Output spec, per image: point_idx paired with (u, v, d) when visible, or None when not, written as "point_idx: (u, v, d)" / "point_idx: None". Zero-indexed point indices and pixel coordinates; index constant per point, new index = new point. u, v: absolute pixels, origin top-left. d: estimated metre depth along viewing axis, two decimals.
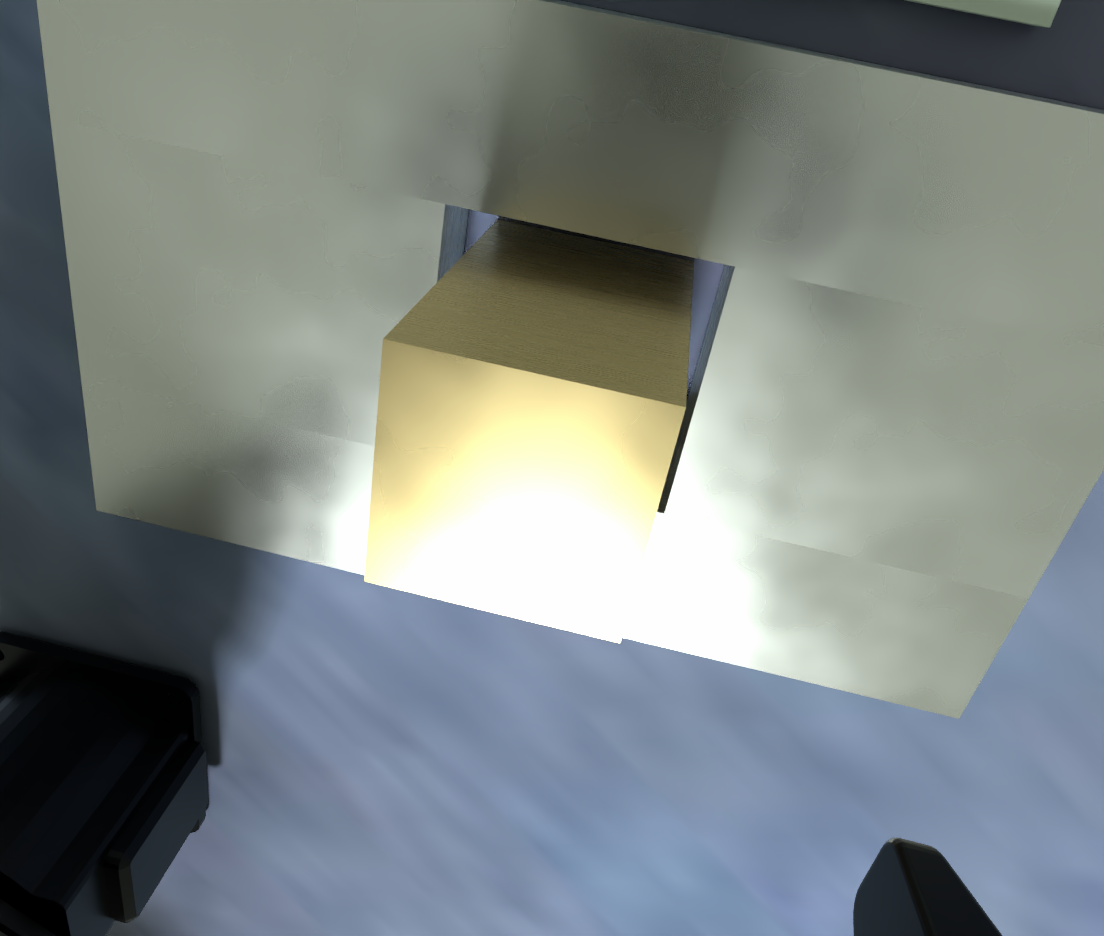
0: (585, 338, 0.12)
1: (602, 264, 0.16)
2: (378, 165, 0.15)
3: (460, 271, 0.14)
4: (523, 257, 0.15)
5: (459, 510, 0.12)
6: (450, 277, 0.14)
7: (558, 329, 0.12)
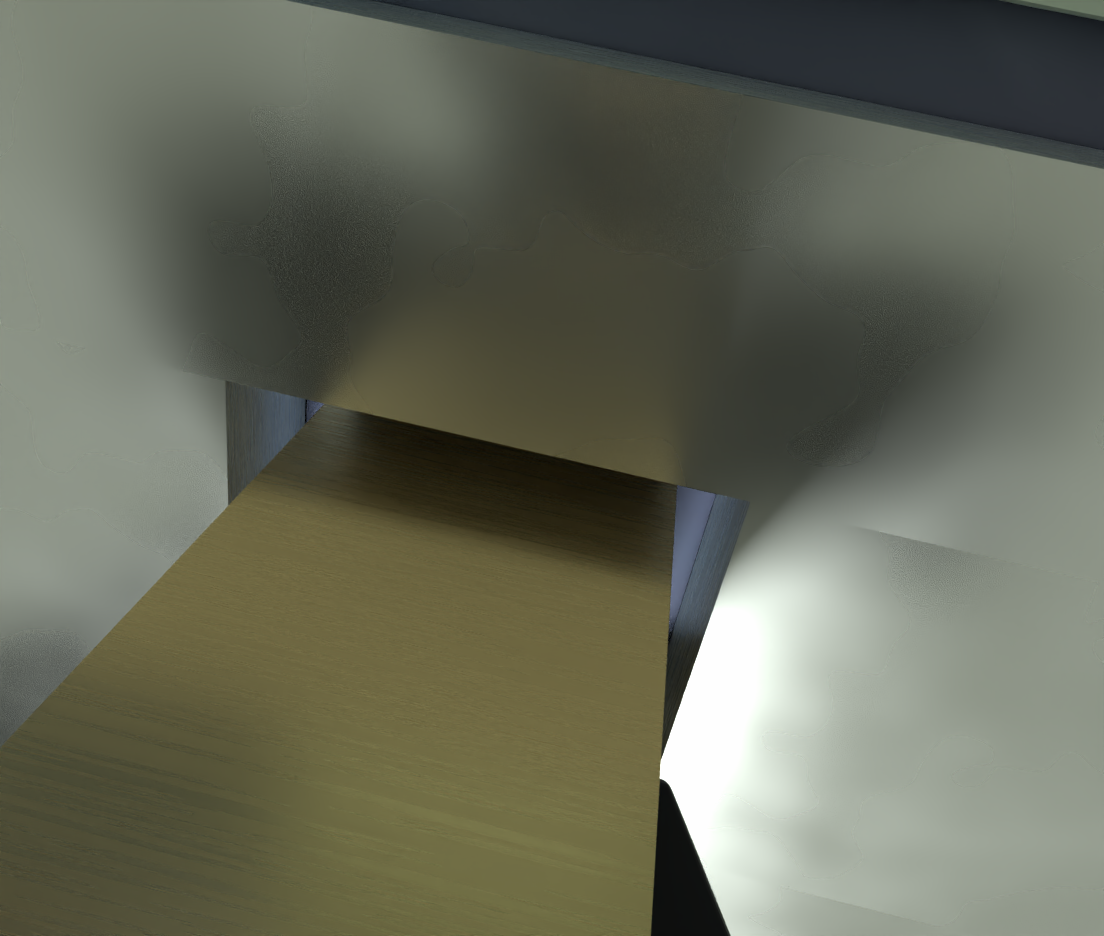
0: (426, 773, 0.06)
1: (516, 477, 0.09)
2: (99, 313, 0.08)
3: (218, 542, 0.07)
4: (371, 476, 0.08)
5: None
6: (188, 565, 0.07)
7: (373, 738, 0.06)
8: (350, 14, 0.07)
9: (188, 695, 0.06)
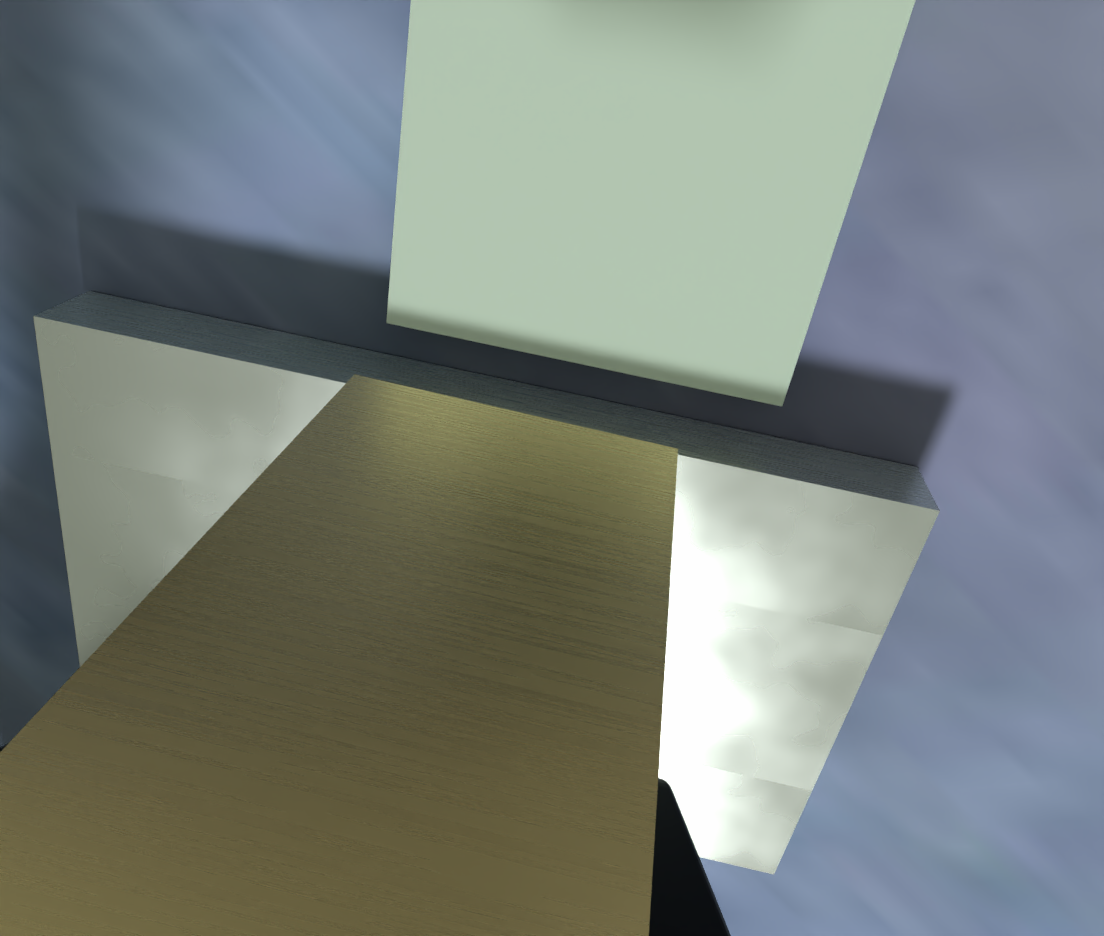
0: (425, 777, 0.06)
1: (515, 481, 0.09)
2: None
3: (217, 547, 0.07)
4: (368, 479, 0.08)
5: None
6: (188, 571, 0.07)
7: (371, 743, 0.06)
8: None
9: (186, 701, 0.06)
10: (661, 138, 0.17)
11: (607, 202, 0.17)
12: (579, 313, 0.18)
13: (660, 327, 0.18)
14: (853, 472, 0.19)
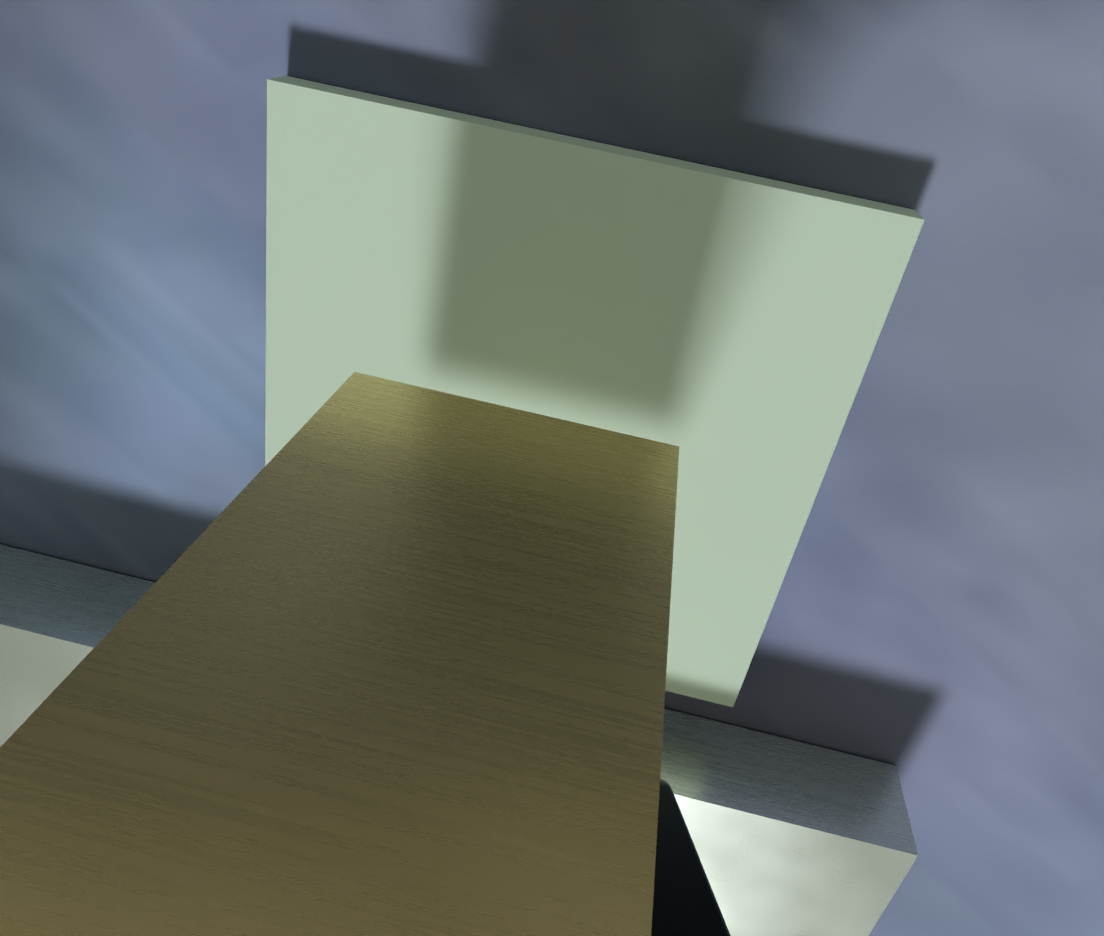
0: (425, 776, 0.05)
1: (515, 478, 0.09)
2: None
3: (216, 544, 0.07)
4: (369, 477, 0.08)
5: None
6: (186, 568, 0.07)
7: (371, 742, 0.06)
8: None
9: (185, 698, 0.06)
10: None
11: None
12: None
13: None
14: (817, 785, 0.16)
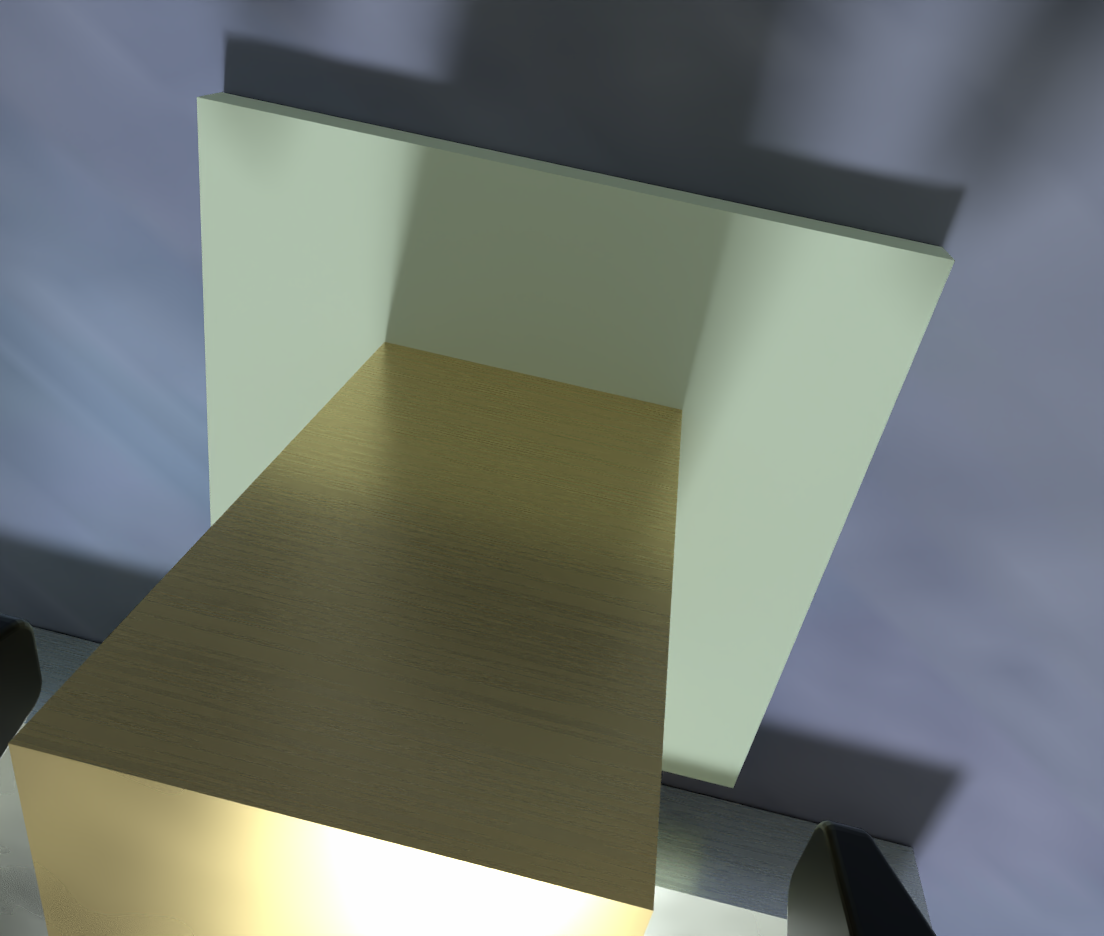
0: (466, 666, 0.06)
1: (534, 434, 0.10)
2: None
3: (274, 482, 0.08)
4: (404, 430, 0.09)
5: None
6: (252, 501, 0.08)
7: (419, 639, 0.07)
8: None
9: (260, 601, 0.07)
10: None
11: None
12: None
13: None
14: None
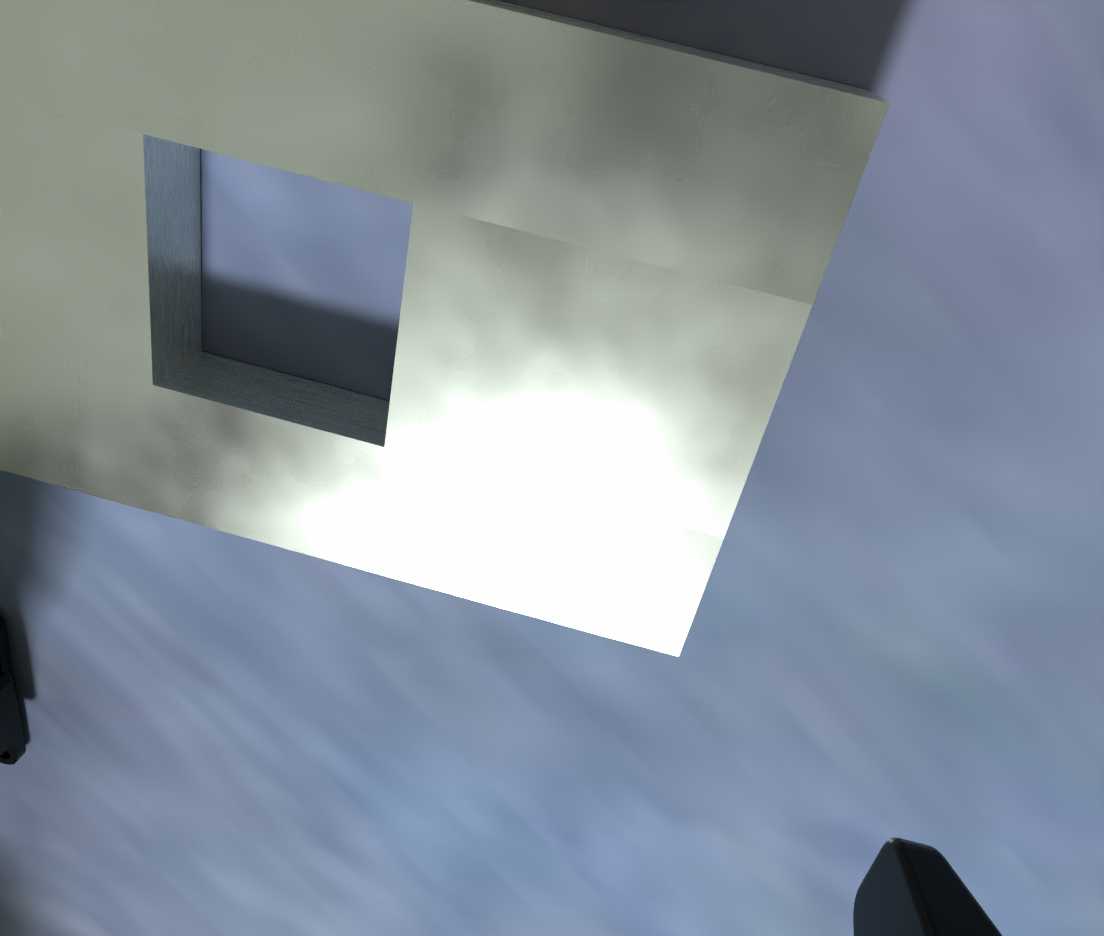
0: None
1: None
2: (77, 94, 0.16)
3: None
4: None
5: None
6: None
7: None
8: None
9: None
10: None
11: None
12: None
13: None
14: (783, 73, 0.14)
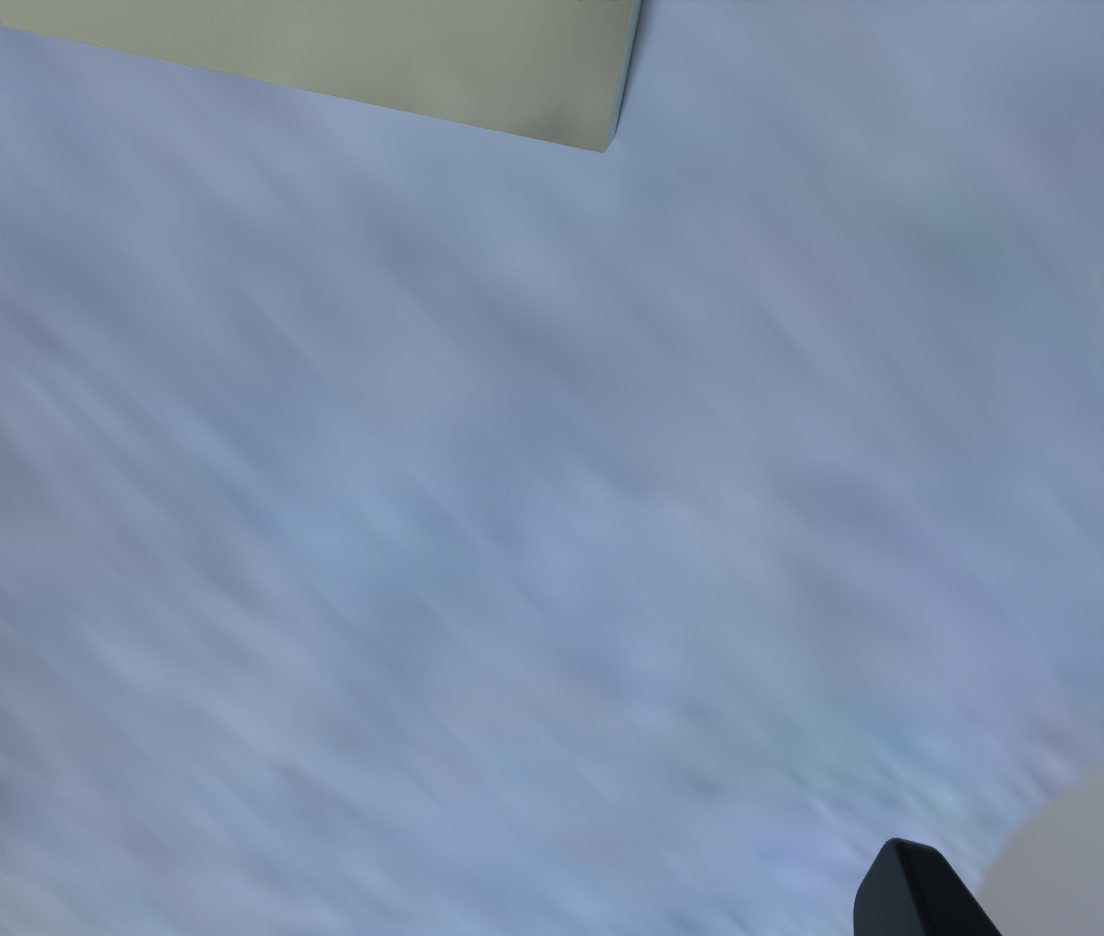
0: None
1: None
2: None
3: None
4: None
5: None
6: None
7: None
8: None
9: None
10: None
11: None
12: None
13: None
14: None
